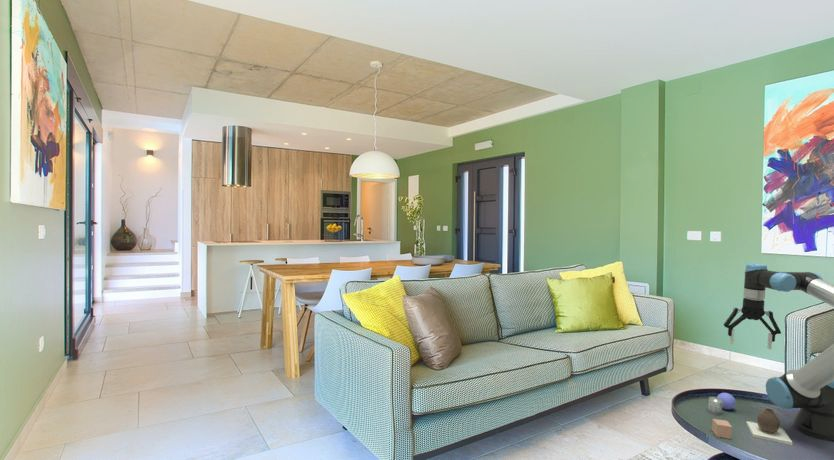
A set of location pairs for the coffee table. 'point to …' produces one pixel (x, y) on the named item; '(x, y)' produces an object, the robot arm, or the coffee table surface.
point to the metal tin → (715, 405)
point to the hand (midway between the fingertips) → (750, 346)
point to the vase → (768, 421)
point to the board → (768, 434)
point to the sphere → (727, 400)
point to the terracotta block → (722, 428)
